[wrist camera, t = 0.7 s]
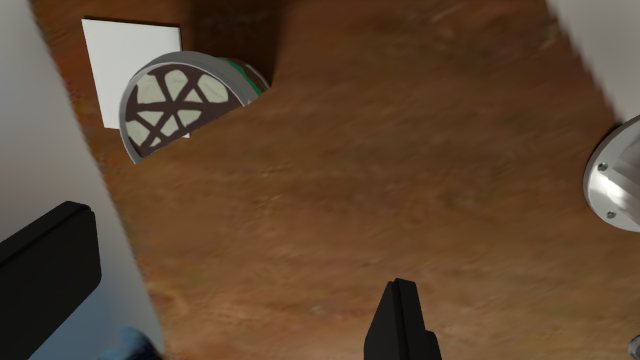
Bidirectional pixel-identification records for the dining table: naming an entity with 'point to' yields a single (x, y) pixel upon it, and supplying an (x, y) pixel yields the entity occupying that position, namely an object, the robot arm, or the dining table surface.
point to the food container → (182, 98)
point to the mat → (123, 57)
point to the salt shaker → (635, 348)
